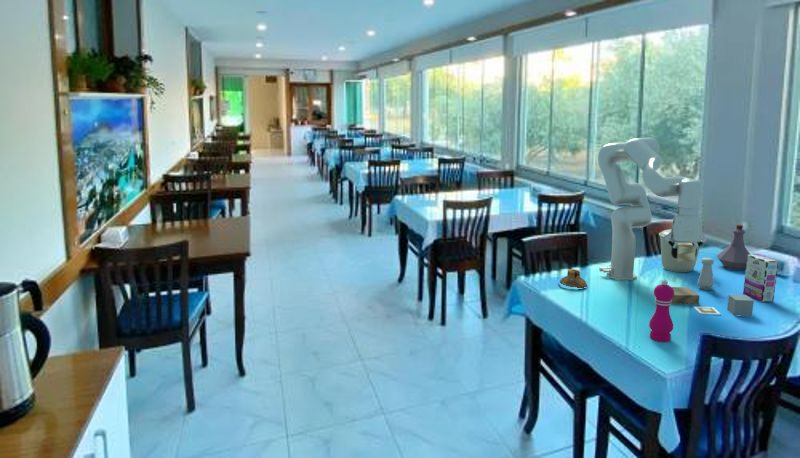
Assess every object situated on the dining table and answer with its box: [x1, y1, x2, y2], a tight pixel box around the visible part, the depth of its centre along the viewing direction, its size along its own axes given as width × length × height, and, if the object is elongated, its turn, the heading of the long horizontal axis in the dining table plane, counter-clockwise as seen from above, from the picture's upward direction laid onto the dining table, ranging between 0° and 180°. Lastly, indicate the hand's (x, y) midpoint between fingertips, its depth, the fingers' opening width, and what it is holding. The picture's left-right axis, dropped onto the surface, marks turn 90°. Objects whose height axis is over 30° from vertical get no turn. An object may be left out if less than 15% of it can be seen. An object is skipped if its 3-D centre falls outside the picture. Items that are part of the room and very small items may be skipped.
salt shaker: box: [697, 257, 715, 291], centre depth 232 cm, size 6×6×13 cm
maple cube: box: [673, 243, 696, 262], centre depth 217 cm, size 6×6×6 cm
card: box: [692, 306, 721, 316], centre depth 208 cm, size 7×7×1 cm
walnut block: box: [671, 286, 700, 305], centre depth 220 cm, size 10×10×4 cm
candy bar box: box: [742, 254, 780, 303], centre depth 219 cm, size 11×5×16 cm, turn 5°
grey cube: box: [726, 294, 755, 317], centre depth 205 cm, size 6×6×6 cm
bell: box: [559, 268, 588, 288], centre depth 239 cm, size 12×12×7 cm
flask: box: [716, 224, 752, 271], centre depth 260 cm, size 16×16×20 cm
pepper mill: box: [648, 279, 674, 343], centre depth 183 cm, size 7×7×20 cm
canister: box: [658, 229, 701, 273], centre depth 258 cm, size 18×18×21 cm
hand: (683, 257), depth 217 cm, fingers closed on maple cube, 6 cm apart
